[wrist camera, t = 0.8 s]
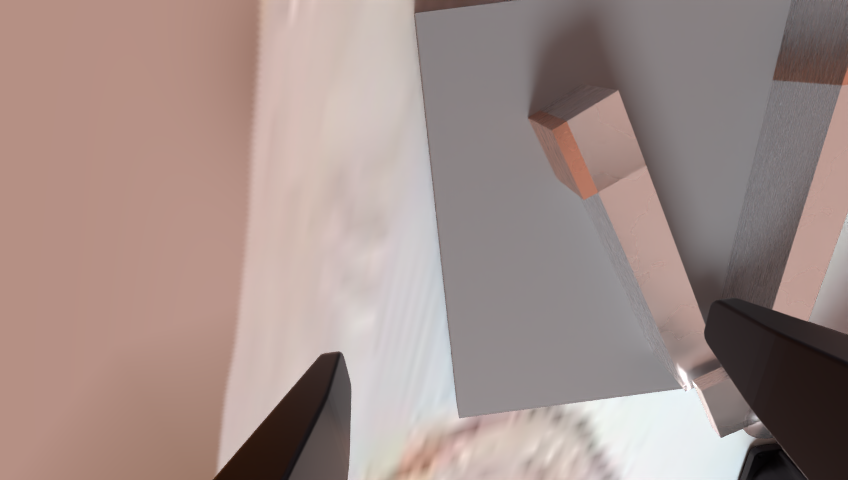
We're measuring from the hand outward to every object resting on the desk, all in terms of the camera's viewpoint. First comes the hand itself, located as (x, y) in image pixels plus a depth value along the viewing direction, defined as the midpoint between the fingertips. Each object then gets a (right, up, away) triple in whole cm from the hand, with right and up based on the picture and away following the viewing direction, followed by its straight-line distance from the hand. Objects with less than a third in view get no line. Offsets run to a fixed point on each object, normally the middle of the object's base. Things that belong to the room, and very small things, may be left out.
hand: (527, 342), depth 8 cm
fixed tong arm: (+15, +3, +12) cm, 19 cm away
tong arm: (+10, +1, +13) cm, 16 cm away
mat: (+9, +3, +13) cm, 16 cm away
